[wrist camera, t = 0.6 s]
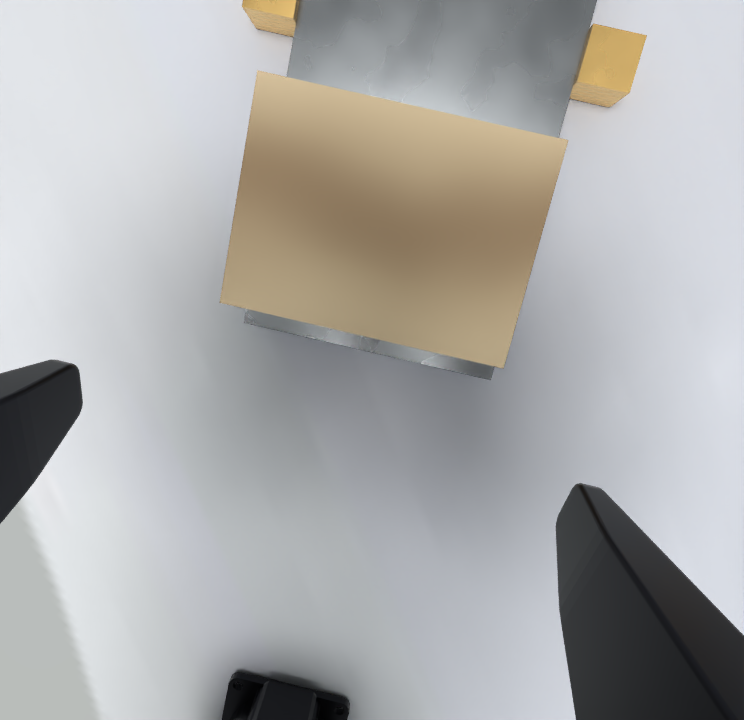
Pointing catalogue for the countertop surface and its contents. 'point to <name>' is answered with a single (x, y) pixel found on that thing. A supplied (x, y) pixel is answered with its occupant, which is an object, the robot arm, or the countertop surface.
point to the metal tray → (452, 79)
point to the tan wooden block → (387, 218)
